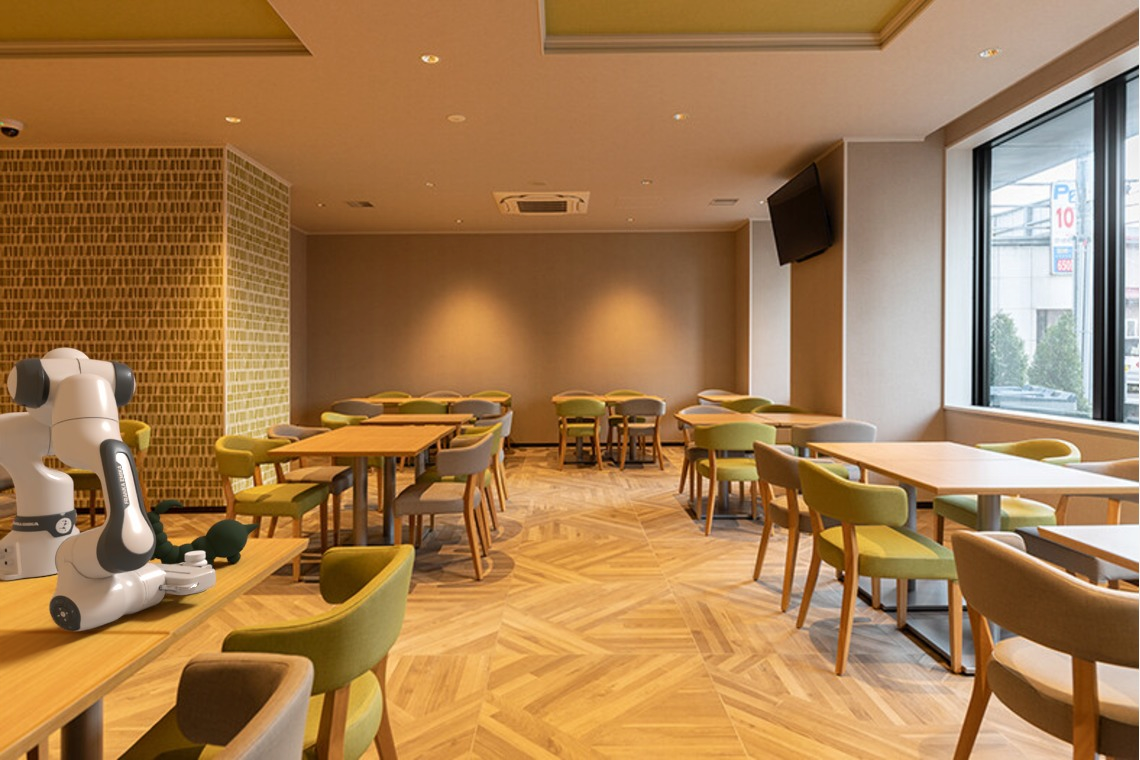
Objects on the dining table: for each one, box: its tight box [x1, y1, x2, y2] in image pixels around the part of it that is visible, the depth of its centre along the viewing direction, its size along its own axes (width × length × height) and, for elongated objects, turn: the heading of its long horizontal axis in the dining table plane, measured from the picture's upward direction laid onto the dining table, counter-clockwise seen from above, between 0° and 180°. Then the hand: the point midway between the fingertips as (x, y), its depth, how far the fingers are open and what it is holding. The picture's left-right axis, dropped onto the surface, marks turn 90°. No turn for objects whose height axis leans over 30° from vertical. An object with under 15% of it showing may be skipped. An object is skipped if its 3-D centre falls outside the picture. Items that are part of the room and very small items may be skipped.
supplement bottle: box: [183, 551, 207, 595], centre depth 147 cm, size 5×5×8 cm
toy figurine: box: [146, 499, 260, 567], centre depth 165 cm, size 9×19×25 cm
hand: (198, 566), depth 148 cm, fingers closed on supplement bottle, 5 cm apart
